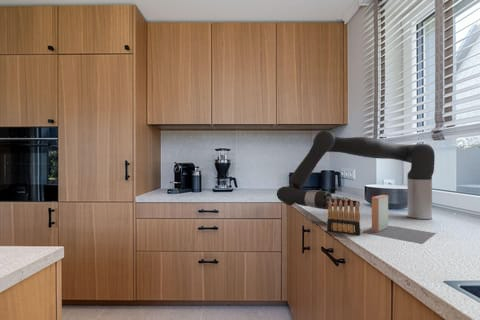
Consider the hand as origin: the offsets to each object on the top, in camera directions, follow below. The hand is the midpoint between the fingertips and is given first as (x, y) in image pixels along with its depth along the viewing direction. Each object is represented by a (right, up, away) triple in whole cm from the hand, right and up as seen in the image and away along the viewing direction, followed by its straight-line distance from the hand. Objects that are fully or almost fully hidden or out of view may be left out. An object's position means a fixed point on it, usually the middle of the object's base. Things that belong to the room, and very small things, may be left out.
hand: (358, 204), depth 104 cm
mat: (+9, -9, -10) cm, 16 cm away
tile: (+5, -8, -6) cm, 11 cm away
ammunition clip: (-10, -9, -10) cm, 17 cm away
